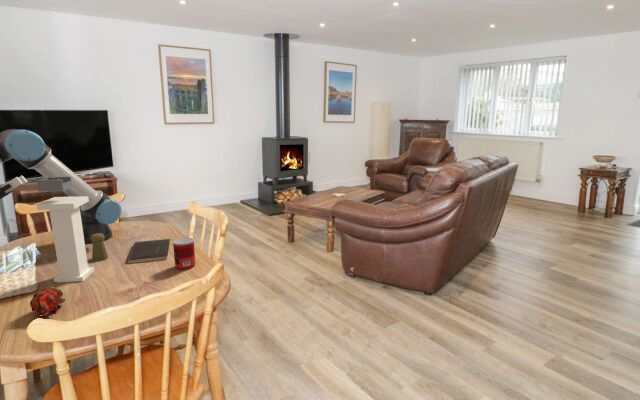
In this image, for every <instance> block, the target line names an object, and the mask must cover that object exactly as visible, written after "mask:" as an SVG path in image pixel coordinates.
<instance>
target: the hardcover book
mask: <svg viewBox="0 0 640 400" xmlns="http://www.w3.org/2000/svg"><path fill="white" fill-rule="evenodd" d="M170 242H171V238H165V239H164V238H163V239H154V240H145V241H142V240H141V241H135V242H134V243H133V245H132V247H131V249H130V252H129V255H128V256H127V259H126V264H133V263H143V262H151V261H152V262H153V261H159V260H160V261H161V260H167V259H168V255H169V249H170V244H171V243H170Z"/></svg>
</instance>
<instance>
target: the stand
mask: <svg viewBox="0 0 640 400" xmlns="http://www.w3.org/2000/svg"><path fill="white" fill-rule="evenodd" d="M87 202H89V199H88V196H79V197H70V196H54V197H52V198H49V199H47V200H44V201H42V202H39V203H37V204H36V209H37V211H47V210H49V217H50V222H51V229H52V236H53V242H54V248H55V253H56V254H55V255H56V260H57V261H56V262H57V266H58V267H57V268H58V275H57V276H55V277H54V278H53V283H54V282H57V283H73V282H84V281H85V280H86V279H87V278H88V277H90V275H92V274H93V272H95V266H89V263H88V259H87V258H88V256H87V250H86V243H85V242H84V235H83V228H82V221H81V214H80V207H79V206H81V205H83V204H85V203H87Z"/></svg>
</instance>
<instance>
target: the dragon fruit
mask: <svg viewBox="0 0 640 400" xmlns="http://www.w3.org/2000/svg"><path fill="white" fill-rule="evenodd" d="M63 296H64V293H63V291H62V290H61V289H59V288H57V287H55V286H50V287H48V288H46V287H43V288H41V291H40V292H35V293H34V294H33V296H32V298H31V299H30V303H29V306H30V308H31V311H32V312H34V313H35V314H36V315H38V316H39V315H43V317H46V316H49V315H51V314H52V312H54V313H57V312H59V310H60V309H61V308H62V306H63V303H65V301H66V299H65V298H63ZM43 317H42V316H39V318H40V319H42V318H43Z"/></svg>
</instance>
